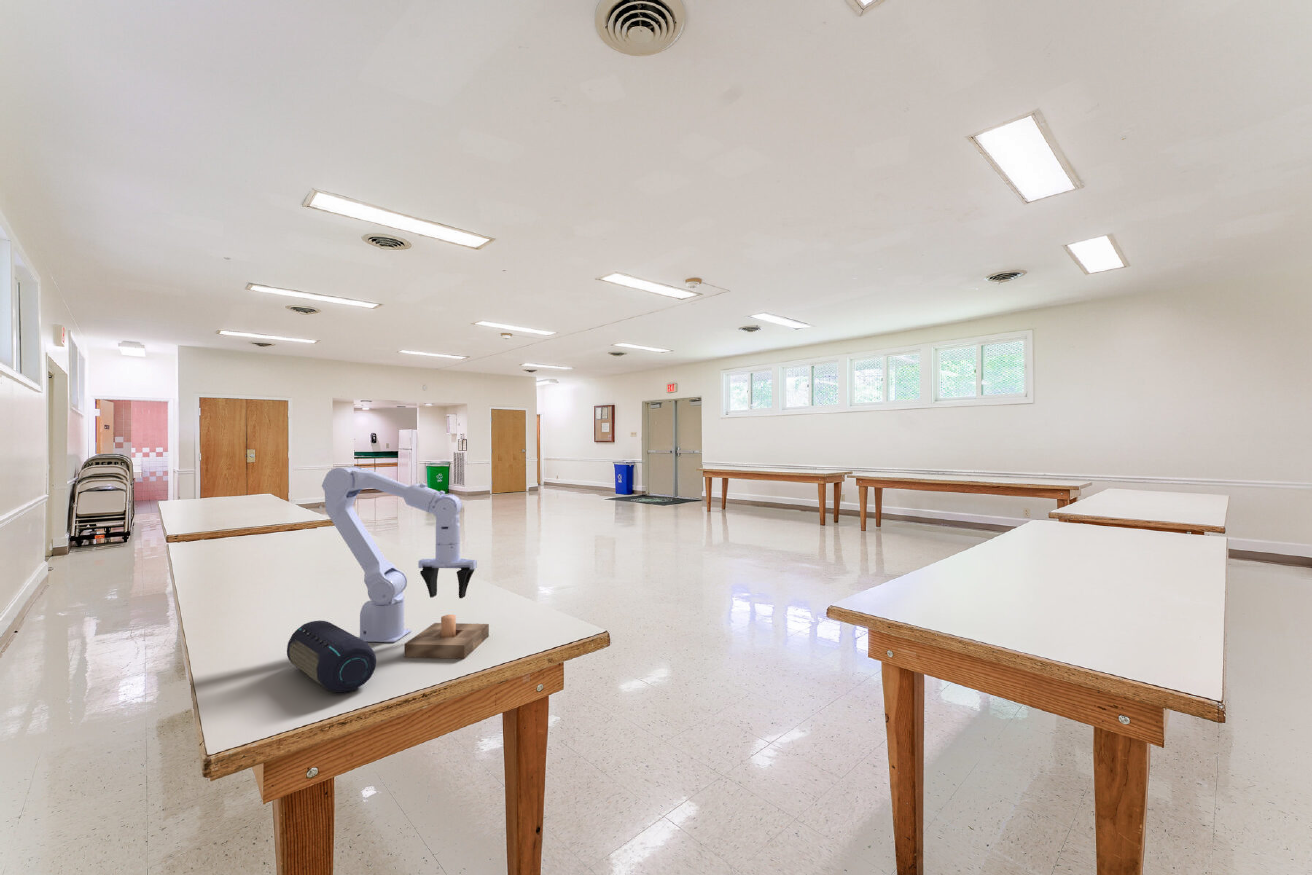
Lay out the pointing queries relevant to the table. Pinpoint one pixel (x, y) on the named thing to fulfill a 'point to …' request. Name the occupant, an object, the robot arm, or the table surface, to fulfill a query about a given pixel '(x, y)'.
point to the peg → (448, 626)
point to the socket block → (446, 642)
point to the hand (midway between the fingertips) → (447, 596)
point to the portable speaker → (331, 656)
